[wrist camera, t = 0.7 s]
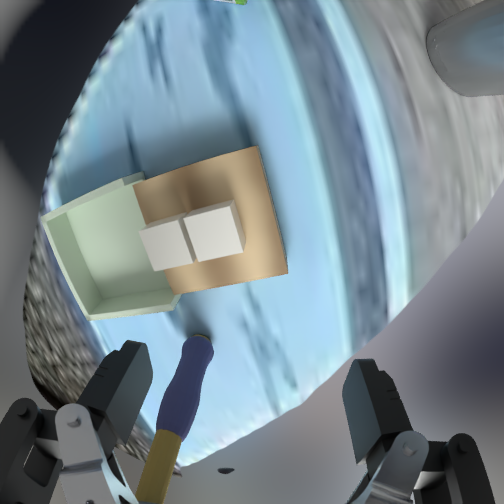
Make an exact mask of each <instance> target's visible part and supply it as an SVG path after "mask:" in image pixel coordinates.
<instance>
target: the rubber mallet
mask: <svg viewBox="0 0 504 504" xmlns="http://www.w3.org/2000/svg"><path fill="white" fill-rule="evenodd" d="M213 354H214V350H213V346H212V344H211V342H210V340H209V339H208V338H207V337H206V336H203V335H200V334H199V335H193V336H191V337H190V338H188V339H187V340H186V341H185V342H184V344H183V347H182V357H181V359H180V362H179V365H178V367H177V370H176V372H175V375H174V377H173V379H172V381H171V382H170V384H169V386H168V387H167V389H166V391H165V393H164V396H163V399H162V402H161V405H160V409H159V413H158V417H157V422H156V434H155V437H154V440H153V443H152V446H151V449H150V451H149V454H148V457H147V460H146V463H145V466H144V470H143V473H142V476H141V479H140V482H139V485H138V488H137V491H136V494H135V498H136V499H137V501H138V502H139V504H163V503H164V499H165V496H166V493H167V489H168V486H169V482H170V479H171V476H172V472H173V469H174V466H175V462H176V459H177V456H178V452H179V449H180V445H181V442H183V441H184V439H185V438H186V437H187V435H188V433H189V431H190V428H191V426H192V423H193V421H194V418H195V415H196V412H197V409H198V406H199V401H200V393H201V385H202V381H203V378H204V375H205V371H206V368H207V366H208V364H209V363H210V361H211V360H212V357H213Z"/></svg>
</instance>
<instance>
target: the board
mask: <svg viewBox="0 0 504 504" xmlns="http://www.w3.org/2000/svg"><path fill="white" fill-rule="evenodd" d="M132 186H133V189H134V192H135V195H136V198H137V201H138V204H139V207H140V210H141V213H142V216H143V218H144V221H145V224H146V225H148V224H149V223H151V222H154V221H157V220H161V219H164V218H167V217H171V216H174V215H178V214H181V213H185V212H187V214H189V213H190V212H191V211H192V210H196V209H199V208H203V207H207V206H210V205H214V204H218V203H222V202H226V201H229V200H233V199H234V201H235V204H236V208H237V211H238V214H239V218H240V221H241V225H242V228H243V232H244V235H245V239H246V244H245V248H244V252H243V253H238V254H233V255H229V256H224V257H220V258H215V259H210V260H206V261H201V262H198V259H197V258H196V260H195V261H194V263H192V264H187V265H182V266H178V267H173V268H169V269H164V273H165V275H166V278H167V280H168V282H169V285H170V287H171V289H172V292H173V294H174V295H177V294H183V293H189V292H194V291H200V290H205V289H211V288H216V287H222V286H227V285H233V284H238V283H243V282H248V281H253V280H259V279H264V278H269V277H274V276H279V275H284V274H288V265H287V258H286V253H285V249H284V245H283V241H282V237H281V232H280V228H279V224H278V220H277V216H276V212H275V208H274V204H273V200H272V196H271V192H270V188H269V184H268V180H267V177H266V173H265V169H264V165H263V161H262V158H261V154H260V150H259V147H258V145H257V146H253V147H249V148H245V149H241V150H238V151H234V152H230V153H227V154H223V155H220V156H216V157H213V158H210V159H206V160H203V161H200V162H197V163H193V164H190V165H187V166H184V167H181V168H178V169H175V170H172V171H169V172H166V173H164V174H161V175H158V176H155V177H152V178H150V179H147V180H144V181H142V182H139V183H137V184H134V185H132Z"/></svg>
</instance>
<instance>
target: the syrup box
mask: <svg viewBox="0 0 504 504" xmlns="http://www.w3.org/2000/svg"><path fill="white" fill-rule="evenodd" d="M215 1H222V2H229V3H235V4H241V5H246V3H247V1H248V0H215Z"/></svg>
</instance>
